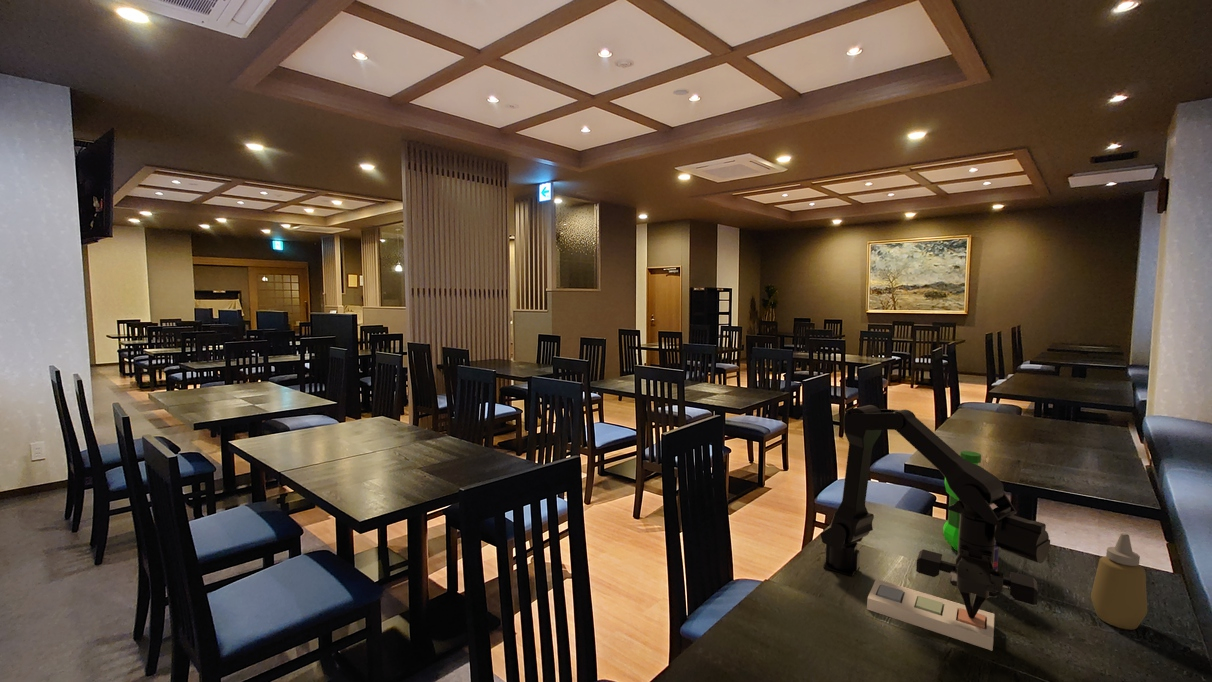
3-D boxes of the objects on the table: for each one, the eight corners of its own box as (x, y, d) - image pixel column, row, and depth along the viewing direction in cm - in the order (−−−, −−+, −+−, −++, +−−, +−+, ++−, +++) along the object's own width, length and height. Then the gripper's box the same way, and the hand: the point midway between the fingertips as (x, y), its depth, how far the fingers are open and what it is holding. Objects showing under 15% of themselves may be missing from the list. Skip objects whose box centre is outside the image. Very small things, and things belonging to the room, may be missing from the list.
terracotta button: (957, 628, 102) (957, 618, 101) (958, 617, 105) (959, 607, 105) (983, 636, 99) (984, 626, 99) (984, 625, 102) (985, 615, 102)
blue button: (876, 602, 110) (877, 593, 110) (880, 593, 113) (881, 584, 113) (899, 609, 107) (900, 600, 107) (902, 600, 111) (903, 590, 111)
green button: (915, 614, 106) (916, 605, 106) (918, 604, 109) (918, 595, 109) (940, 622, 103) (940, 613, 103) (942, 612, 107) (942, 602, 106)
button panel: (866, 609, 109) (867, 597, 109) (875, 589, 116) (876, 578, 116) (992, 650, 96) (993, 638, 96) (993, 625, 103) (994, 613, 103)
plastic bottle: (933, 538, 140) (939, 446, 137) (978, 541, 138) (984, 448, 135) (950, 556, 130) (956, 458, 128) (998, 561, 128) (1005, 461, 126)
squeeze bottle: (1135, 639, 99) (1144, 548, 98) (1081, 615, 107) (1089, 530, 105) (1152, 626, 103) (1161, 538, 101) (1099, 604, 110) (1107, 522, 108)
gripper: (914, 541, 99) (910, 619, 101) (1042, 573, 88) (1035, 660, 90) (922, 521, 108) (917, 593, 110) (1039, 547, 97) (1032, 627, 99)
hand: (971, 616), depth 102 cm, fingers closed, pressing on terracotta button
